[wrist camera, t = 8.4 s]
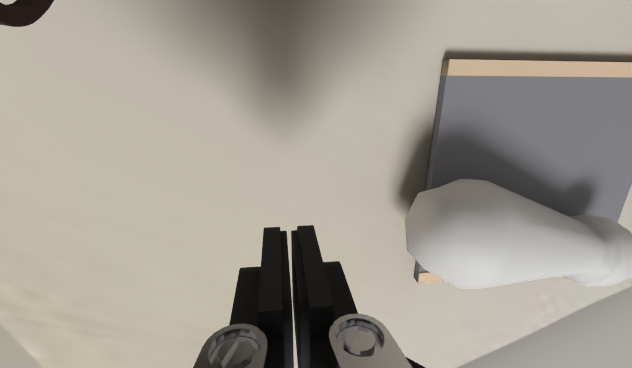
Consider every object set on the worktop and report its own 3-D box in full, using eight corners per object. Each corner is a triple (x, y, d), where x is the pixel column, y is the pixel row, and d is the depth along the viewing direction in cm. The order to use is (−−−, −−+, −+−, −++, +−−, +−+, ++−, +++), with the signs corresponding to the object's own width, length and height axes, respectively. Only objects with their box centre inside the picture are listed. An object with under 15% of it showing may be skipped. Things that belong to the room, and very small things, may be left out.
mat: (663, 63, 18) (677, 63, 18) (592, 264, 23) (601, 269, 22) (443, 59, 17) (450, 59, 16) (413, 277, 21) (418, 283, 21)
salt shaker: (425, 152, 17) (592, 188, 20) (385, 232, 20) (539, 252, 23) (493, 217, 12) (698, 250, 15) (428, 312, 15) (615, 322, 18)
